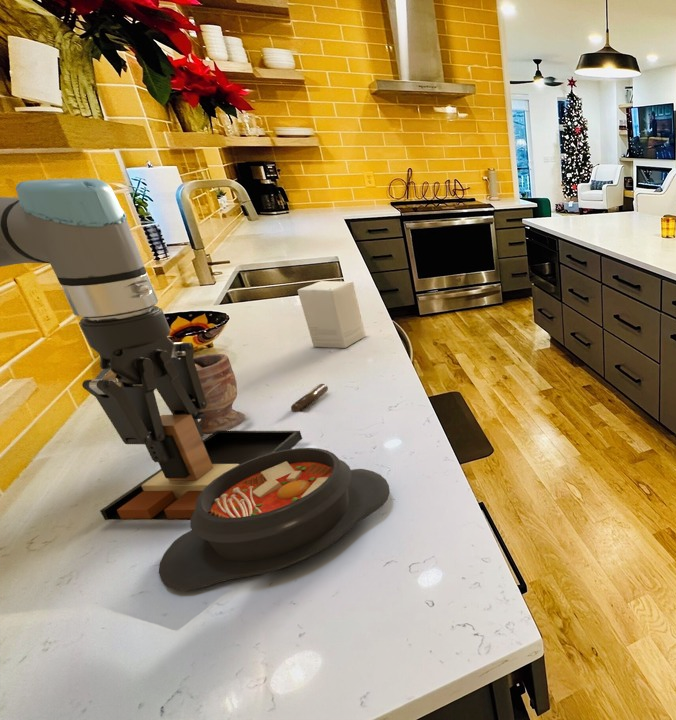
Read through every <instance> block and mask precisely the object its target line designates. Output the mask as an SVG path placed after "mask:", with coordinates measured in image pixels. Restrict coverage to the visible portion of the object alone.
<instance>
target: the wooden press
mask: <svg viewBox="0 0 676 720" xmlns="http://www.w3.org/2000/svg"><path fill="white" fill-rule="evenodd" d="M160 417H161V421H162V424H163V428H164V432H165V435H173V438H174V440H175V442H176V445H177V447H178V449H179V451H180V454H181V456H182V458H183V460H184V463H185V465H186V467H187V470H188V472H189V474H190V475H189V476H188V477H187V478H165V476H164V473H163V471H161V472H160V473H158V474H157V475H155V476H154V477H152V478H151V479H150V480H148V481H147V482H145V483H144V484H143V485H141V486H142V488H143V490H144V491H173V493H174V495H175V498H176V499H178V498H180V497H181V496H182V495H183V494H185V493H186V492H187V491H203V490H204V488H205V487H206V486H208V485H209V484H210V483H211V482H212V481H213V480H215V479H216V478H217V477H219V476H220V475H222V474H223V473H225V472H227V471H229V470H230V469H232V468H234V467H236V466H238V465H239V464H212V463H211V461H210V458H209V456H208V454H207V451H206V449H205V446H204V444H203V442H202V440H203V438H202V439H201V437H200V434H199V432H198V430H197V427H196V425H195V422H194V420H193V418H192V415H173V414H162V415H161V414H160Z"/></svg>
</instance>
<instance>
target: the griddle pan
mask: <svg viewBox="0 0 676 720" xmlns="http://www.w3.org/2000/svg"><path fill="white" fill-rule="evenodd" d="M328 390H329V386H328V385H327V384H325V383H319V384H318V385H316V386H315V387H313V389H311V390H310V391H308V392H307V393H306V394H305V395H303V396H302V397H300V398H299V399H298V400H297V401H295V402H293V404H292V405H291V407H290V410H291V412H292V413H302V412H303V411H305V410H306V409H307V408H309V406H311V405H312V404H313V403H315V402H316V401H317V400H319V399H320V398H321V397H322V396H323V395H324V394H326V393H327V392H328ZM302 439H303V435H302V433H301V430H225V431H216V432H214V433H213V434H209V435H208V436H207V437H205V438H204V439H202V440H203V442H204V445H205V447H206V449H207V452H208V454H209V457H210V461H211V463H212V464H239V465H240V464H242V463H245V462H247V461H249V460H252V459H255V458H257V457H260V456H263V455H267V454H270V453H274V452H278V451H283V450H288V449H293V447H294V446H296V445H297V444H298V443H300V441H302ZM161 471H162V469H161V468H160V469H159V470H157V471H156V472H154V473H153V474H151V475H150V476H148V477H146V478H145V479H144V480H143V481H141V482H140V483H138V484H136V485H135V486H133V487H132V488H130V489H129V490H128V491H126V492H125V493H123V494H122V495H120V496H119V497H117V498H116V499H115V500H113V501H112V502H110V503H109V504H107V505H106V506H105V507H103V508H101V509H100V510H99V512H100V514H101V516H102V518H103V519H104V520H105V521H114V520H115V521H191V518H187V519H168V518H167V516H166V513H165V511H164V509H166V508H167V507H168V506H169V505H171V504H172V503H173V502H175V501H176V500H177V499H176V500H175V501H173V502H172V503H171V504H169V505H168V506H167V507H166V508H164V509H163V510H162V511H160V512H159V513H158V514H157V515H155V516H154V517H153V518H151V519H121V517H120V516H119V514H118V512H117V510H118V509H119V508H120V507H122V506H123V505H125V504H126V503H127V502H129V501H130V500H132V499H133V498H134V497H136V496H137V495H139V494H140V493H141V492H143V491H144V490H143V488H142V486H141V485H143V484H144V483H145V482H147V481H148V480H150V479H151V478H152V477H154V476H155V475H157V474H158V473H160V472H161Z"/></svg>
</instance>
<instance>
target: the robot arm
mask: <svg viewBox="0 0 676 720" xmlns="http://www.w3.org/2000/svg"><path fill="white" fill-rule="evenodd" d="M15 191H16V194H17V197H15V196H0V268H2V267H7V266H14V265H19V264H20V265H21V264H49V265H50V266H51V268H52V271H53V272H54V274H55V277H56V279H57V281H58V283H59V285H60V288H61V289H62V292H63V294H64V296H65V298H66V300H67V303H68V305H69V307H70V309H71V311H72V313H73V315H74V316H76V317H79V318H81V319H80V321H79V322H78V325H79V327H80V330H81V332H82V333H83V335H84V338H85V339H86V342H87V344H88V346H89V347H90V348H91V349H92V350H94V351H95V352H96V353H97V354H98V355H99V358H100V359H99V361H100V362H99V366H100V369H101V371H100V372H99V373H98V374H97V375H96V376H95V377H94V378H93V379H85V380H83V382H82V384H81V387H82V388H83V389H84V390H85V391H87V392H88V393H89V394H91V395H92V396H93V397H95V399H96V400H97V402H98V404H99V405H100V407H101V408H102V410H103V411H104V413H105V415H106V416H107V418H108V419H109V421H110V422H111V424H112V427H113V428H114V429H115V431H116V432H117V434H118V436H119V437H120V439H121V440H122V442H123V443H124V444H125V445H145V447H146V449H147V451H148V454H149V456H150V458H151V460H152V461H153V462H154V463H158V465H159V467H160V469H162V471H163V473H164V476H165V478H187V477H188V476H189V475H190V474H189V472H188V470H187V467H186V465H185V463H184V460H183V458H182V456H181V454H180V451H179V449H178V447H177V445H176V442H175V440H174V438H173V435H165V432H164V428H163V424H162V421H161V417H160V416H161V413H160V410H159V409H160V408H159V406H158V403H157V397H156V394H155V390H156V391H157V393H158V394H159V396H160V397H161V398H162V400H163V402H164V403H165V405H166V406H167V408H168V410H169V411H170V413H171V415H192V418H193V420H194V422H195V425H196V427H197V430H198V432H199V434H200V437H201V439H202V442H203V440H204V439H203V437H204V434H203V431H202V429H201V427H200V424H199V420H201V419H202V418H203V417H204V412H199V411H200V410H201V409H205V408H206V406H207V402H206V399H205V396H204V392H203V389H202V386H201V382H200V379H199V376H198V373H197V369H196V366H195V363H194V359H193V357H194V344H193V343H192V342H187V341H186V342H184V341H183V342H179V341H177V342H173V340H171V338H169V335H170V334H171V328H170V326H169V323H168V321H167V319H166V316H165V313H164V311H163V309H162V308H160V307H159V306H157V304H158V302H159V299H158V296H157V294H156V292H155V289H154V287H153V284H152V282H151V279H150V277H149V274H148V272H147V270H146V267H145V263H144V260H143V258H142V256H141V253H140V251H139V248H138V246H137V243H136V240H135V238H134V236H133V232H132V230H131V227H130V225H129V222H128V219H127V218H128V217H127V214H126V212H125V211H124V209H123V208H122V207H121V205H120V203H119V200H118V198H117V196H116V195H115V194H116V193H115V192H114V190H113V187H111V185H110V184H109V183H107V182H105V181H104V180H101V179H98V178H50V179H34V180H32V179H31V180H24V181H23V180H22V181H20V182H18V183H16V186H15ZM192 399H195V401H192ZM203 444H204V442H203ZM204 446H205V445H204ZM205 449H206V447H205ZM206 451H207V449H206ZM207 454H208V452H207ZM208 456H209V454H208ZM209 458H210V457H209Z"/></svg>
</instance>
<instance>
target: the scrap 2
mask: <svg viewBox="0 0 676 720" xmlns="http://www.w3.org/2000/svg"><path fill="white" fill-rule="evenodd" d="M201 492H202V491H187V492H186V493H185V494H183V495H182V496H181V497H180V498H178V499H177V500H176V501H175V502H173V503H172V504H171V505H169V506H168V507H167V508H166V509H164V511H165V513H166V516H167V518H168V519H187V518H191V517H192V514H193V512H194V510H195V509H196V501H197V499H198V496H199V495H200V493H201Z"/></svg>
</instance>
